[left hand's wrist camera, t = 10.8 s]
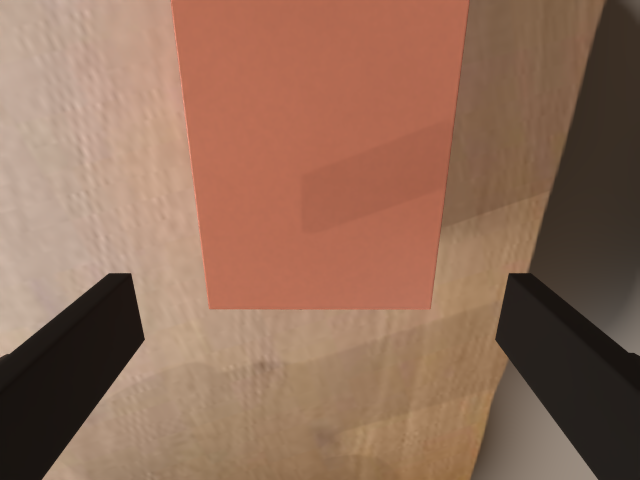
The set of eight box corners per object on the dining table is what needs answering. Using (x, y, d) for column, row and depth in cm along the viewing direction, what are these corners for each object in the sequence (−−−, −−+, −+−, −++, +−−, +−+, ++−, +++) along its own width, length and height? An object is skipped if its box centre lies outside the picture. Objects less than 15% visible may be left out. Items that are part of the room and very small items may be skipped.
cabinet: (221, -36, 21) (153, -131, 12) (419, -36, 21) (487, -131, 12) (243, 244, 27) (208, 309, 18) (396, 245, 27) (431, 310, 18)
